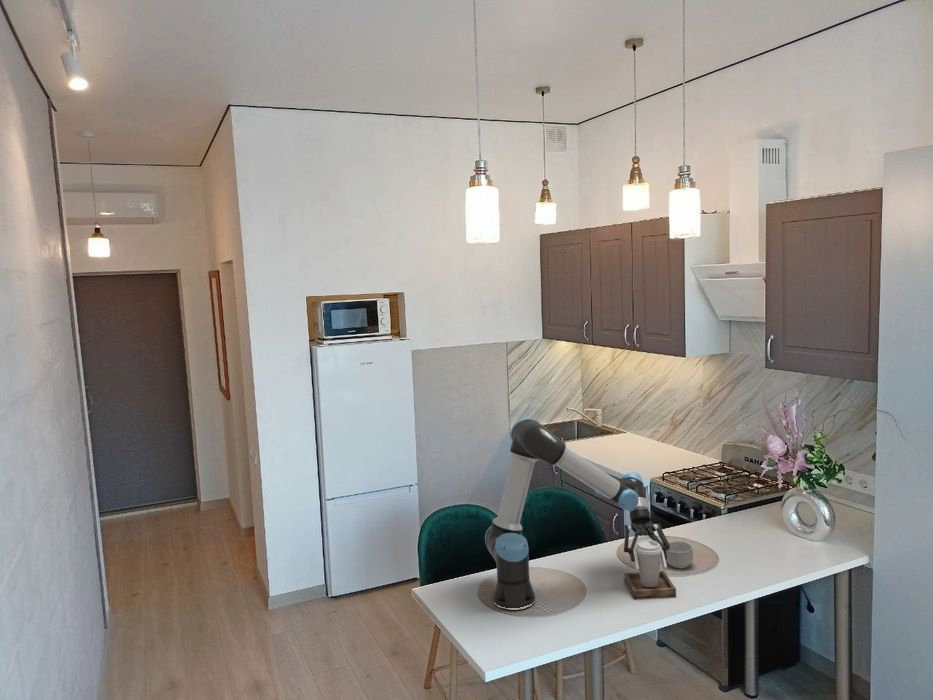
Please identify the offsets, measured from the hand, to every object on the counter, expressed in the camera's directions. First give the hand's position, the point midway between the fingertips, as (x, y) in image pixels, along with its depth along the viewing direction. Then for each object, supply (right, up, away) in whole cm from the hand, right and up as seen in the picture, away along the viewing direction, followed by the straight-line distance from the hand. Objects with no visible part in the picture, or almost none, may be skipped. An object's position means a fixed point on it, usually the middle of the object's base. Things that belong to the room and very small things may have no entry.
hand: (651, 569), depth 251 cm
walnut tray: (0, -8, +4) cm, 9 cm away
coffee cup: (0, -7, +4) cm, 8 cm away
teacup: (+16, -6, +24) cm, 29 cm away
